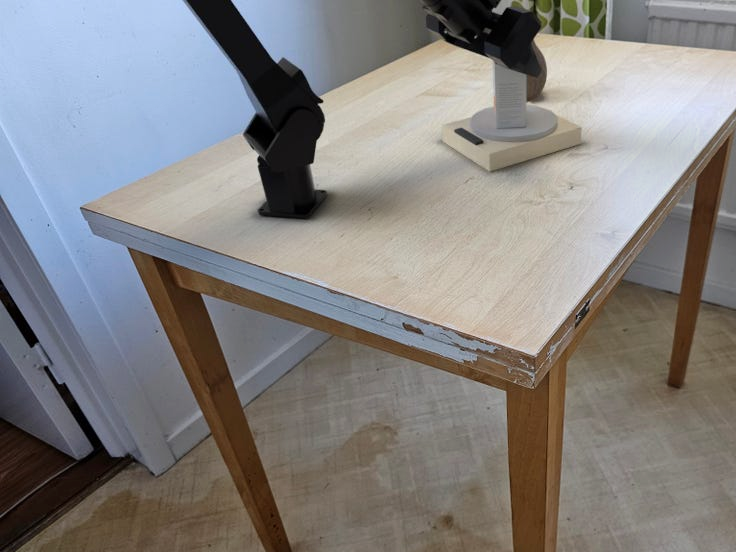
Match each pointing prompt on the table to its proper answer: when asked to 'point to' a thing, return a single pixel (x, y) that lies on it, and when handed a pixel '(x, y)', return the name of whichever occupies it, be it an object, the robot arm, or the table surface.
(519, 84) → the cosmetic box
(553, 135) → the scale
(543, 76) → the vase
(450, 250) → the table surface
